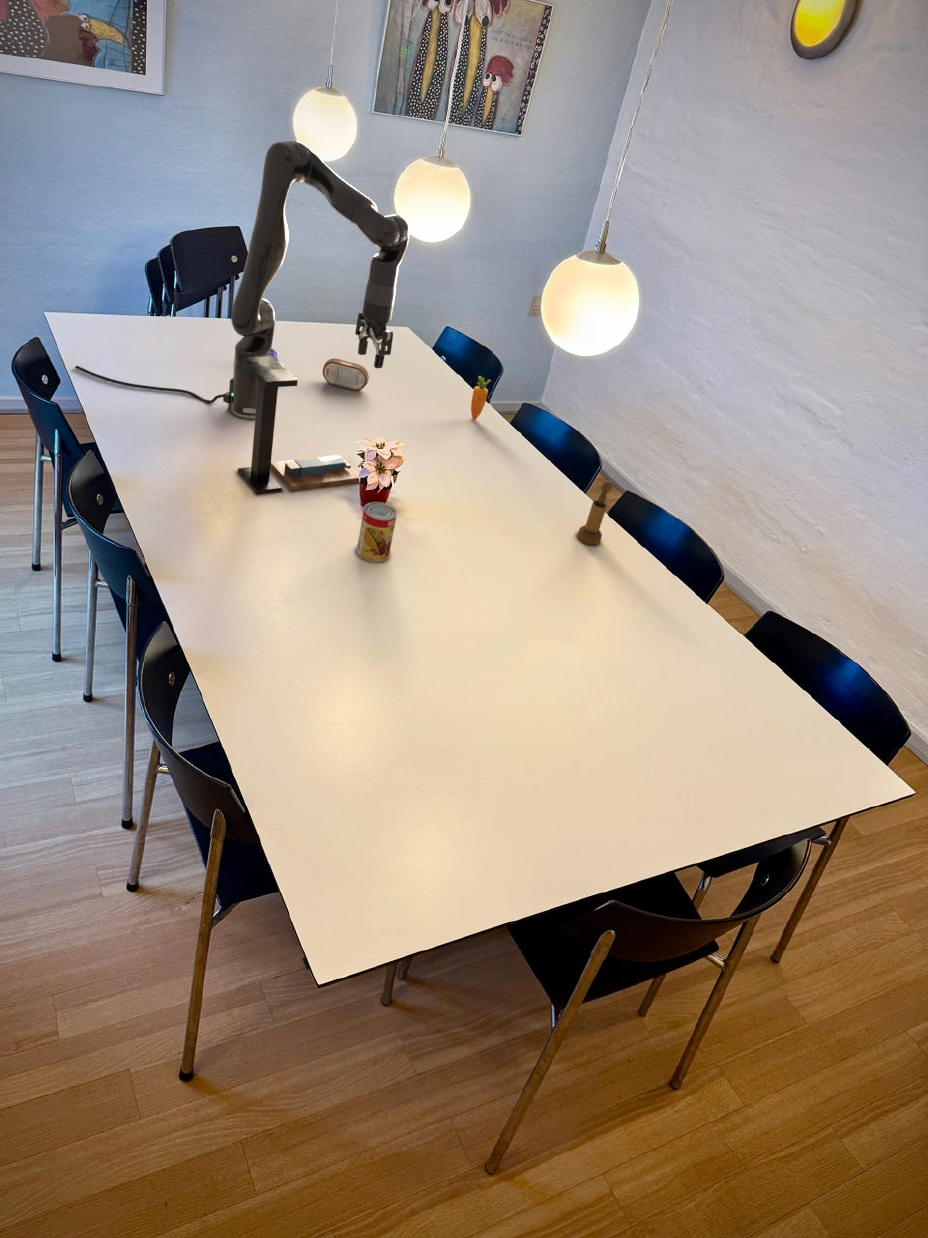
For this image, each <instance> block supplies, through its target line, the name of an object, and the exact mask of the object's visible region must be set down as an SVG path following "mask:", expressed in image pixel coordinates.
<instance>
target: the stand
mask: <svg viewBox="0 0 928 1238" xmlns="http://www.w3.org/2000/svg"><path fill="white" fill-rule="evenodd" d="M242 364H243V365H244V366H245V367H246V368H247V369H248V370H249V371H250V372H251V373H252V374H253V375H254V376H255V377H256V378H257V379H258V390H257V403H256V415H255V419H254V426H253V427H254V429H253V430H254V431H253V441H252V454H251V466H248V467H247V466H246V467H238V468H237V473H238V475H240V478H242V479H243V480H244V482H245V483H246V484H247V485H248V487H249V488H250V489H251V491H253V492H254V494H255V495H256V496H259V495H267V494H274V493H281V492H283V487H282V485H281V484H280V483H278V481H277V480H276V479H275V477H273V476H272V474H271V468H270V467H271V462H272V456H273V446H274V445H273V444H274V434H275V425H276V424H275V423H276V414H277V413H276V412H277V404H278V403H277V401H278V391H279V388H287V387H288V388H289V387H297V386H298V381H299V380H298V379H297V378H296V377H295V376H294V375H292V373H290V371H289V370H287V369H286V367H285V368H284V367H283V366H282V365H281V364H280V363H279V362H278V361H277V360H276V359H274V358H273V357H272V356H270V357H242Z"/></svg>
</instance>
